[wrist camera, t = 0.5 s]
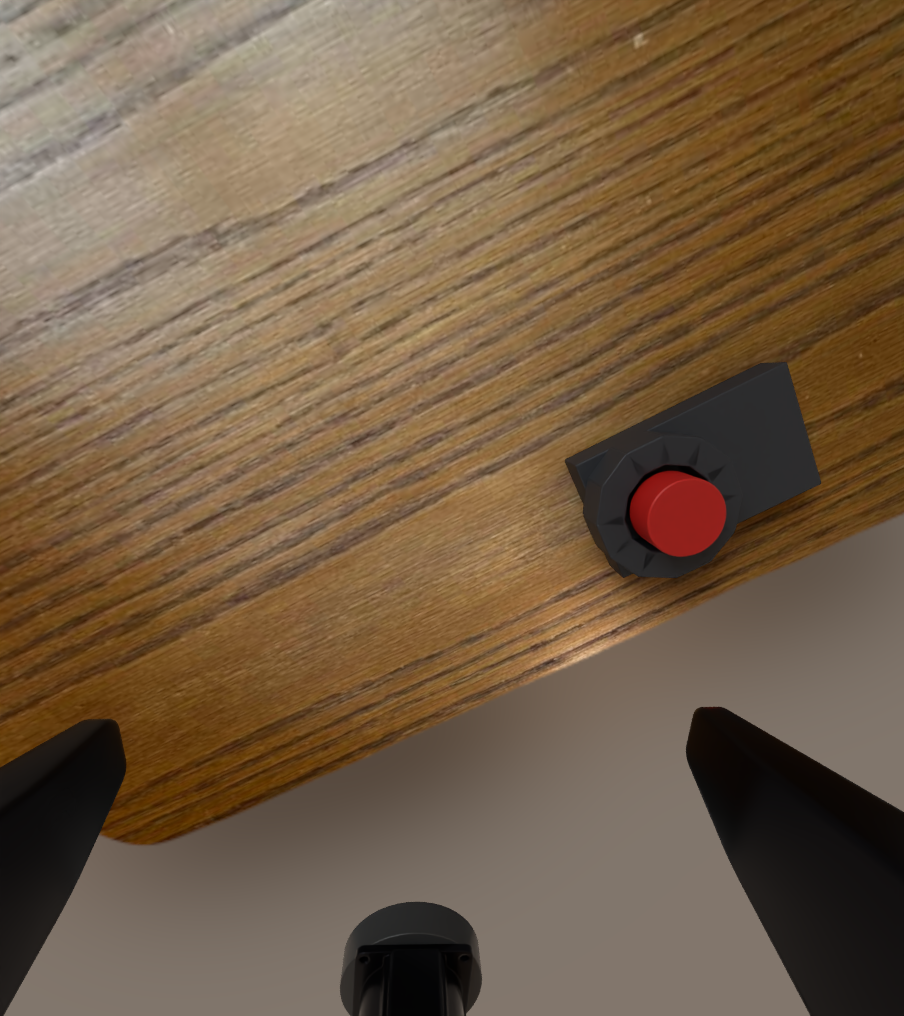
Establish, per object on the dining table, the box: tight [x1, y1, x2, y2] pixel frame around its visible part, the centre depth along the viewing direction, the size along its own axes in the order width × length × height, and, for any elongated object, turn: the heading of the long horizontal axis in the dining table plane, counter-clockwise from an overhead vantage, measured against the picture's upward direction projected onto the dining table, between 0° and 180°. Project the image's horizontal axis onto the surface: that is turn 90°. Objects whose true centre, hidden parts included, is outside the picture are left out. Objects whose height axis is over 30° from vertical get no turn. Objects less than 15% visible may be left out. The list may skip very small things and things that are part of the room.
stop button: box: [630, 471, 726, 557], centre depth 20 cm, size 3×3×2 cm
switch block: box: [565, 362, 821, 578], centre depth 22 cm, size 10×6×4 cm, turn 116°
